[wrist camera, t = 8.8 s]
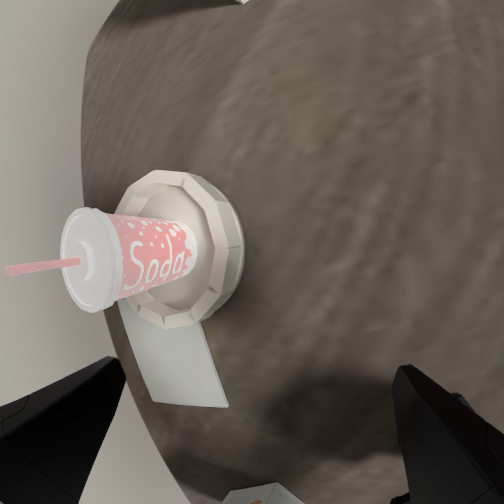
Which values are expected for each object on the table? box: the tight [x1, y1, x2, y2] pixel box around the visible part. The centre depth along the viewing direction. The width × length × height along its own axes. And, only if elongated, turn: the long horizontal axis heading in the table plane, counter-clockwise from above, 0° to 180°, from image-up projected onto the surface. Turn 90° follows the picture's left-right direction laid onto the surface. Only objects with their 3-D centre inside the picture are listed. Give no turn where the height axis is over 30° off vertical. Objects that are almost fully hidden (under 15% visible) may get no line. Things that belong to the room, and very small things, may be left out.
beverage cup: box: [5, 207, 198, 313], centre depth 15 cm, size 6×6×14 cm
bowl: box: [114, 170, 246, 329], centre depth 21 cm, size 12×12×3 cm
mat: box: [117, 299, 229, 407], centre depth 24 cm, size 12×10×1 cm
